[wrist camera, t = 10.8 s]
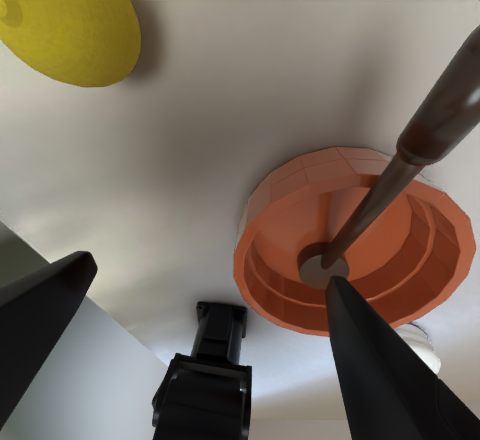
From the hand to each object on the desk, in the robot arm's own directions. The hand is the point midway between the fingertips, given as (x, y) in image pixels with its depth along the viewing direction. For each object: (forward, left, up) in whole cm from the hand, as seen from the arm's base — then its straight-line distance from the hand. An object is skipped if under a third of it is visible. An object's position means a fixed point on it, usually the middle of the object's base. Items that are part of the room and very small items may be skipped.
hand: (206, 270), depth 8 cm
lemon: (+8, +8, -12) cm, 17 cm away
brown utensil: (-2, -8, -11) cm, 14 cm away
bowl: (-6, -8, -12) cm, 16 cm away
